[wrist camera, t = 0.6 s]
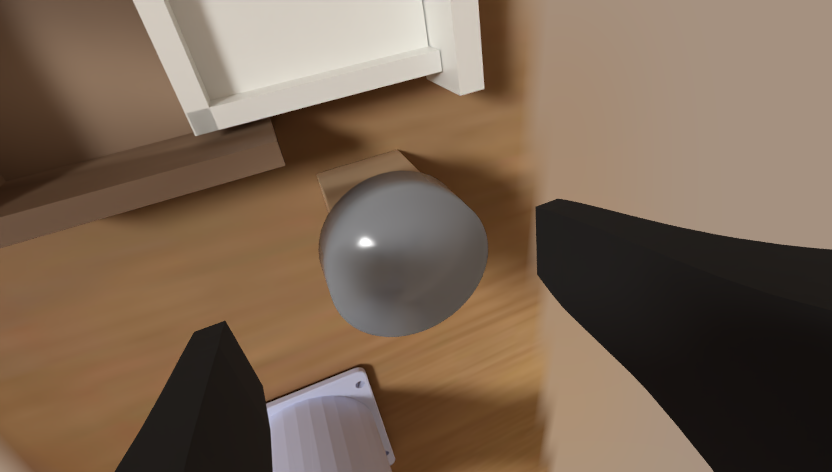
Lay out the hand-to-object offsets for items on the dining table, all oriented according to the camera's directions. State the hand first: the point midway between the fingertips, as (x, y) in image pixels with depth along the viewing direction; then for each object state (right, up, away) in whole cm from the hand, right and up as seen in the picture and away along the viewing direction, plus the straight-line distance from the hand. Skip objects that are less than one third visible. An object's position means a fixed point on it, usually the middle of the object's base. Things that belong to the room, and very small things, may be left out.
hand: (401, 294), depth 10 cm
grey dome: (0, +1, +6) cm, 7 cm away
